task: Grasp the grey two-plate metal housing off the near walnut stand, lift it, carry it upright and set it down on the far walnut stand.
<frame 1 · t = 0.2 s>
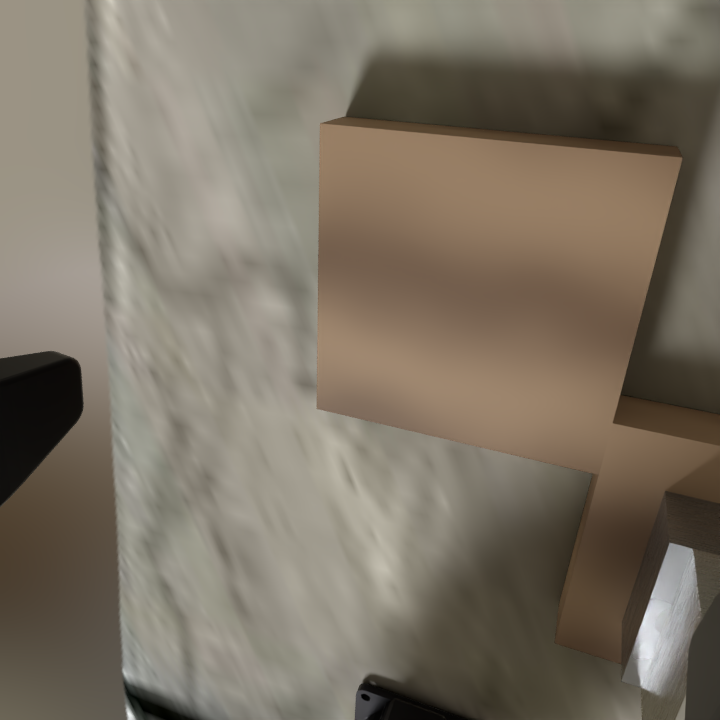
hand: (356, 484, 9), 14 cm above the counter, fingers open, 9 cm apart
stand b: (477, 286, 22), on the counter
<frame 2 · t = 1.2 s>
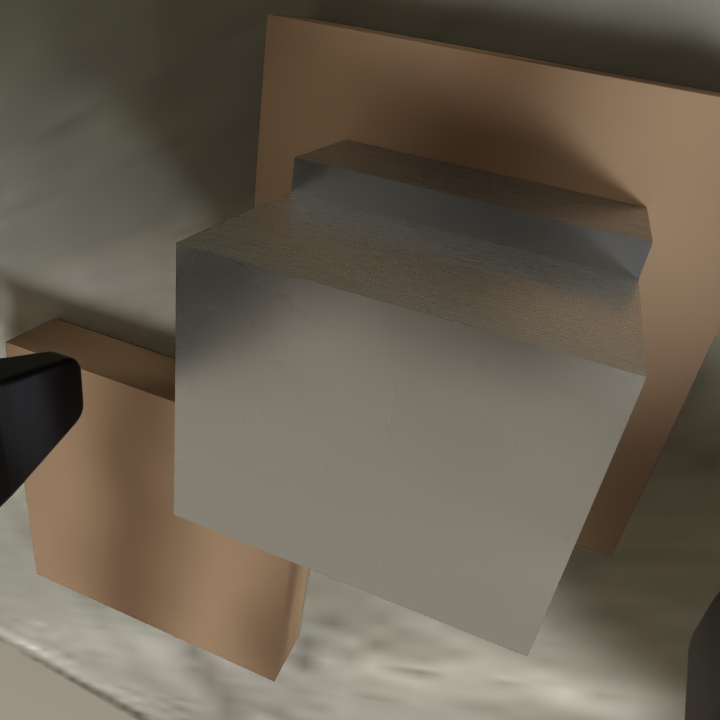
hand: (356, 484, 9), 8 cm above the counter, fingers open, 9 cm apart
stand a: (472, 281, 16), on the counter
stand b: (183, 485, 22), on the counter
housing: (454, 309, 14), point 2 cm above the counter, touching stand a
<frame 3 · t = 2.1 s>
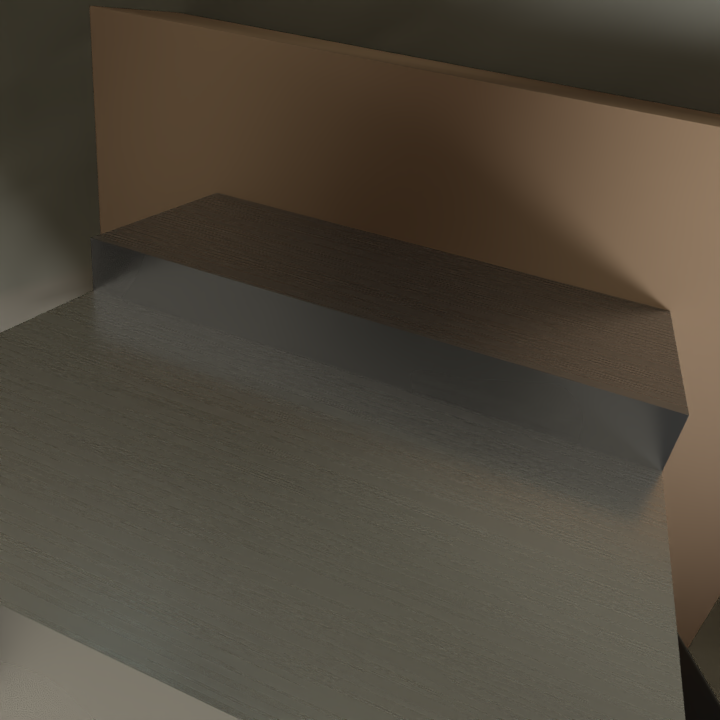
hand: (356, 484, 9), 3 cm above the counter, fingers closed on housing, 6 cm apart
stand a: (420, 378, 11), on the counter
housing: (384, 437, 10), point 2 cm above the counter, touching gripper, stand a
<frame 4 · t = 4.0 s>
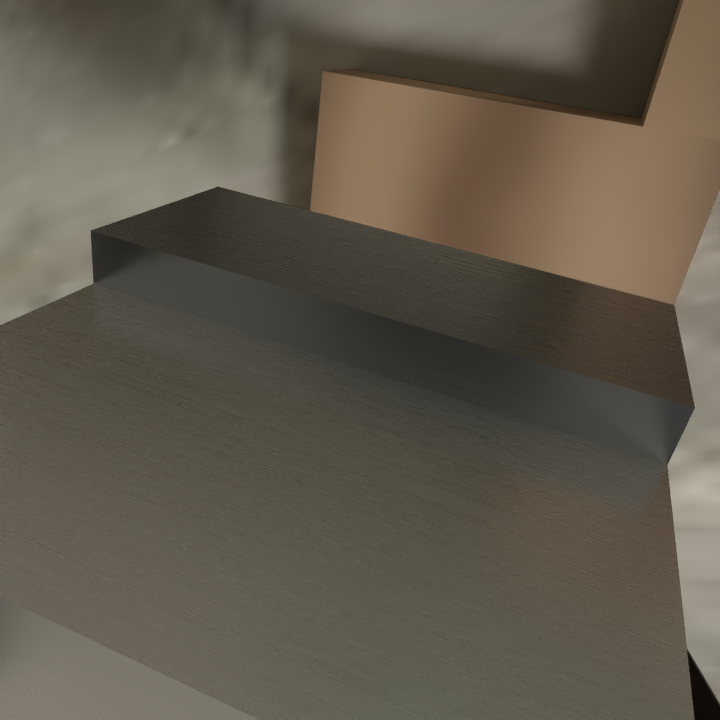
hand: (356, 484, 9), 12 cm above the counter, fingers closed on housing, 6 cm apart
stand b: (483, 274, 19), on the counter
housing: (386, 433, 10), point 11 cm above the counter, touching gripper
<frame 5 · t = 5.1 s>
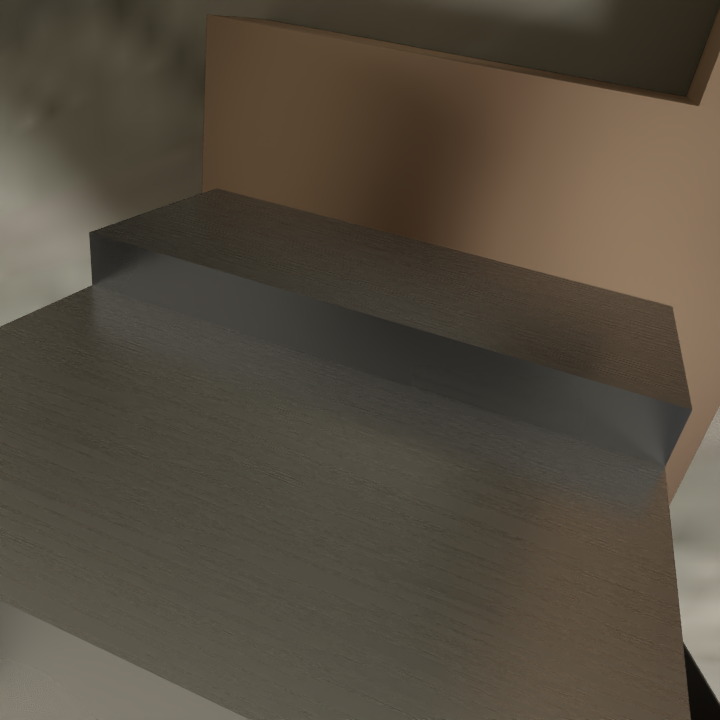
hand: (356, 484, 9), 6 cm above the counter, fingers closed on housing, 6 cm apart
stand b: (450, 315, 14), on the counter
housing: (385, 434, 10), point 5 cm above the counter, touching gripper
when the fingers open (4 cm above the counter, at t = 6.0 s): housing drops 1 cm, resting on stand b.
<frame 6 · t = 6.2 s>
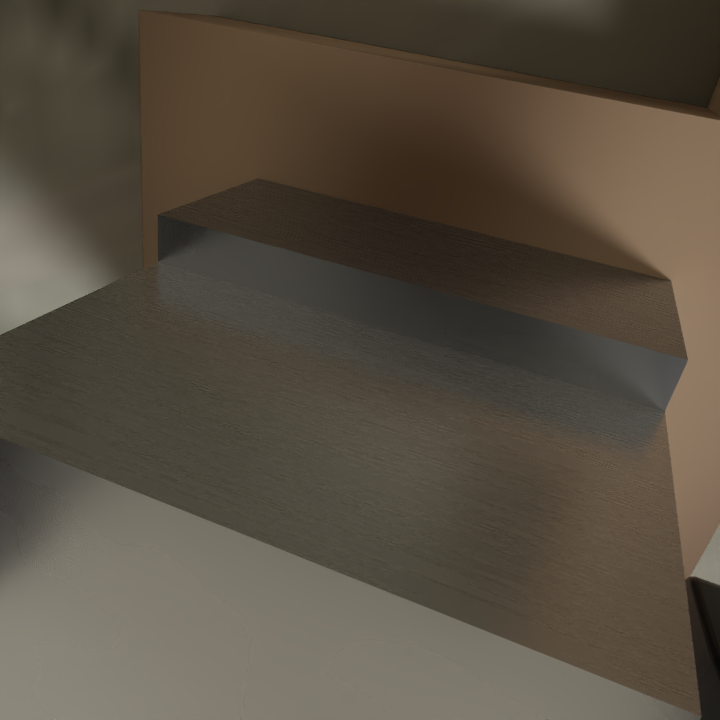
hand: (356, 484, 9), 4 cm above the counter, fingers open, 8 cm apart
stand b: (433, 354, 12), on the counter
housing: (409, 402, 10), point 2 cm above the counter, touching stand b
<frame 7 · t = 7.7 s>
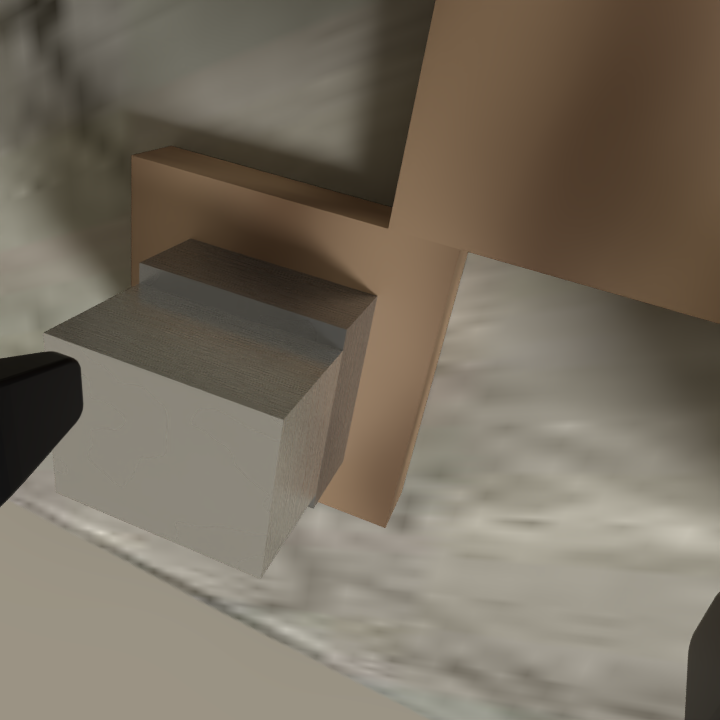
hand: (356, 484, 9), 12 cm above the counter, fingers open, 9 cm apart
stand a: (650, 64, 15), on the counter
stand b: (293, 330, 22), on the counter
housing: (270, 354, 20), point 2 cm above the counter, touching stand b
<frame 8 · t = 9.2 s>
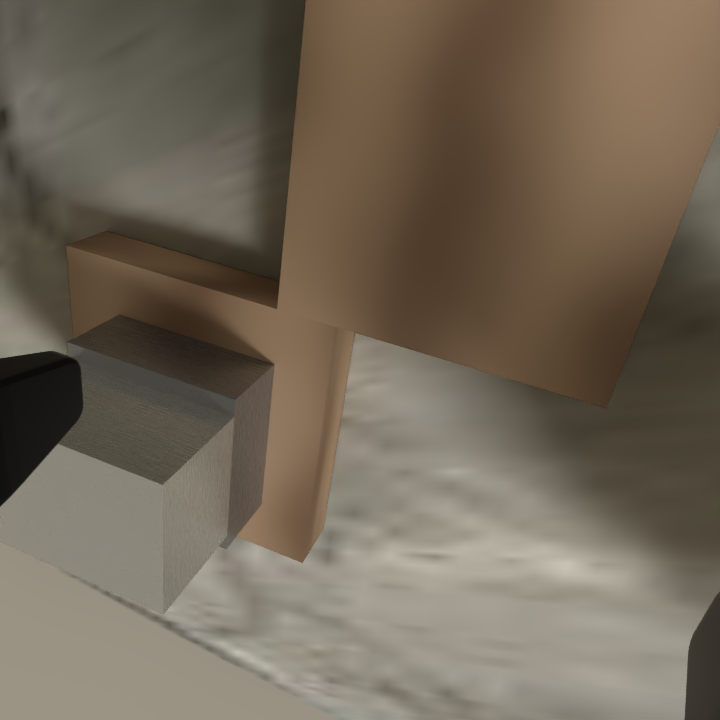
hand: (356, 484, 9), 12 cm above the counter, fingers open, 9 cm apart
stand a: (484, 171, 18), on the counter
stand b: (220, 387, 25), on the counter
housing: (192, 412, 23), point 2 cm above the counter, touching stand b
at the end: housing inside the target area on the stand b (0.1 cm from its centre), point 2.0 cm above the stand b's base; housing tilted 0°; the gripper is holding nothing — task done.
